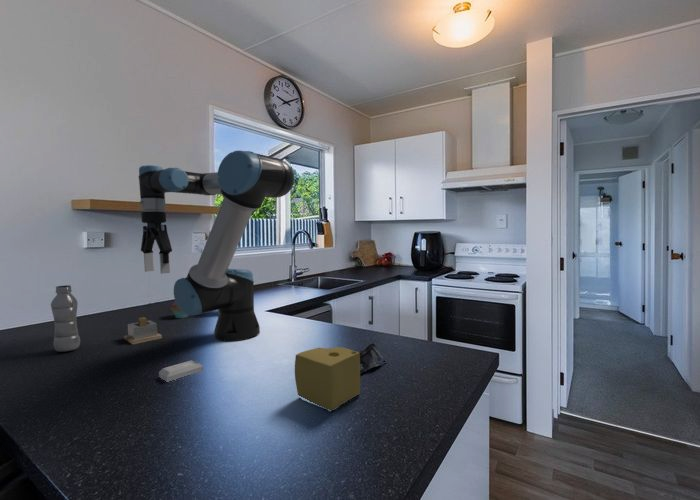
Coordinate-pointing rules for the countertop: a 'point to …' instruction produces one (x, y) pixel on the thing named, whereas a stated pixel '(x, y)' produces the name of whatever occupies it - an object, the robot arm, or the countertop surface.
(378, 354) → the snack package
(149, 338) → the tan square plate
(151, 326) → the grey square frame
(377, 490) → the countertop surface
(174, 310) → the cupcake
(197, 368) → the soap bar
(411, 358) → the countertop surface
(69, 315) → the plastic bottle
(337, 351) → the cheese
